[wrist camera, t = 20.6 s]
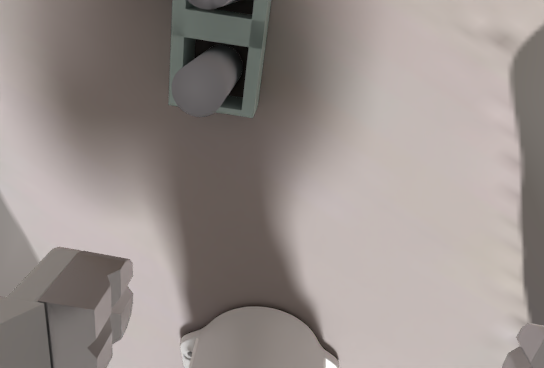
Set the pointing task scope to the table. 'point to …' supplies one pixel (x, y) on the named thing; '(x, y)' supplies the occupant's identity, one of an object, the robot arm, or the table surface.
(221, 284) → the table surface
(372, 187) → the table surface
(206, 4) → the grey metal cylinder
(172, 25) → the rack
